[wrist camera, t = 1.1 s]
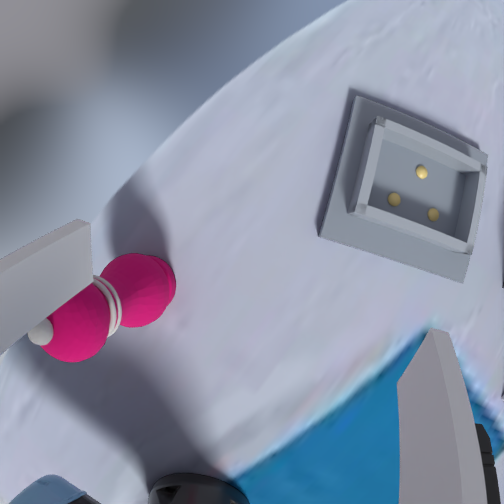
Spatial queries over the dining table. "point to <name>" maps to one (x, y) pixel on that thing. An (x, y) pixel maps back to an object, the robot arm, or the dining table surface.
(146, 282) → the pepper mill
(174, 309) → the dining table surface
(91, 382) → the dining table surface
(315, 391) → the dining table surface
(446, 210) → the socket
